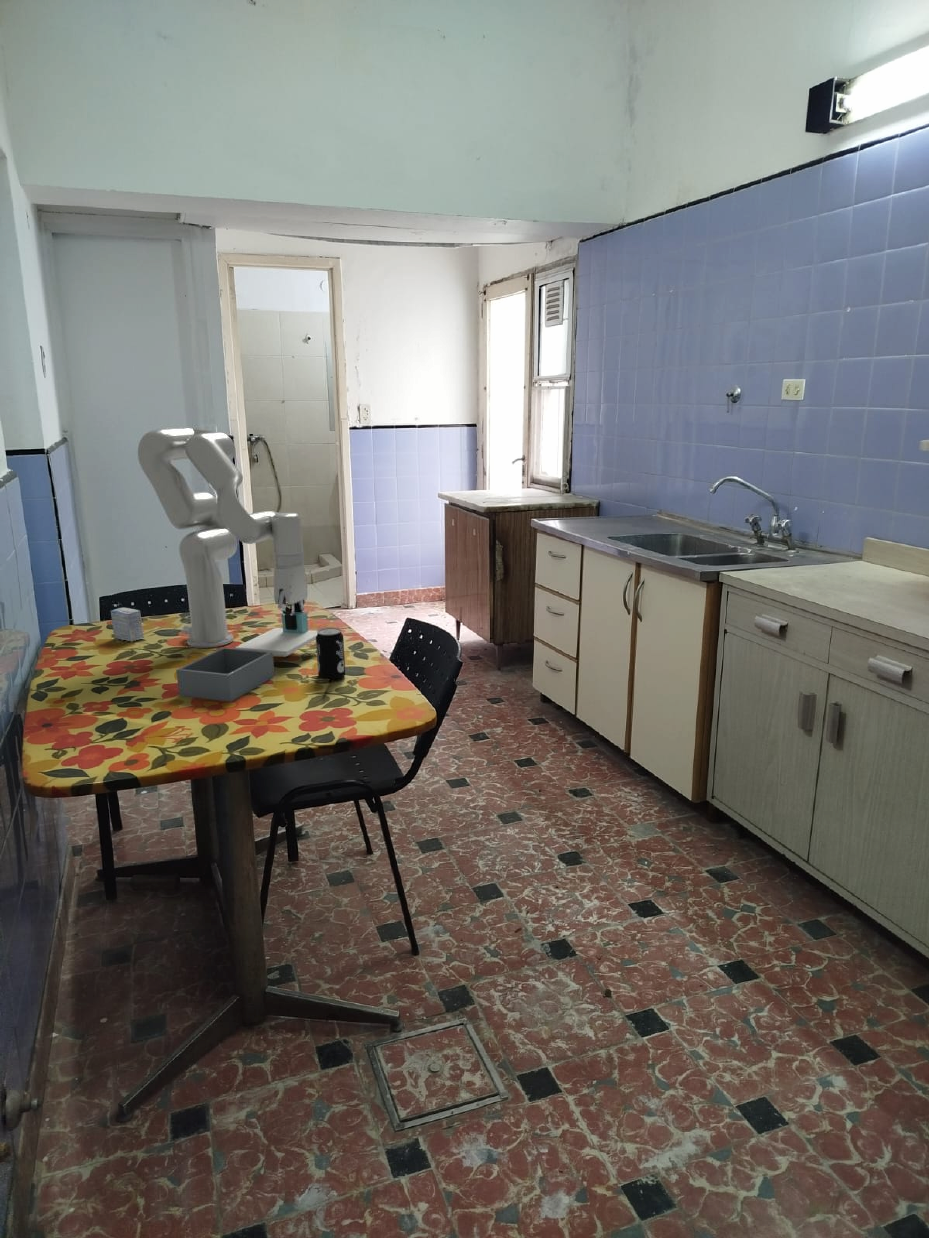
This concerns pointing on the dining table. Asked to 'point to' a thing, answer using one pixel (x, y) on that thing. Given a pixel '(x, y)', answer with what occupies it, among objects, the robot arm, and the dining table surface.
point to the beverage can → (330, 654)
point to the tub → (225, 674)
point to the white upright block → (127, 624)
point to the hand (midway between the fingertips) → (294, 626)
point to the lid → (283, 638)
